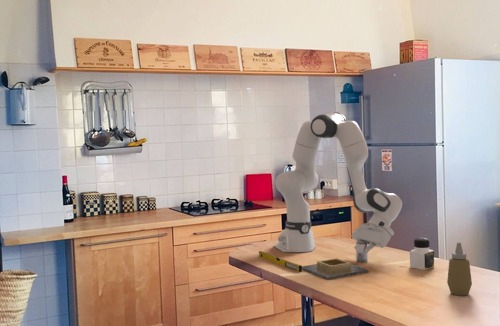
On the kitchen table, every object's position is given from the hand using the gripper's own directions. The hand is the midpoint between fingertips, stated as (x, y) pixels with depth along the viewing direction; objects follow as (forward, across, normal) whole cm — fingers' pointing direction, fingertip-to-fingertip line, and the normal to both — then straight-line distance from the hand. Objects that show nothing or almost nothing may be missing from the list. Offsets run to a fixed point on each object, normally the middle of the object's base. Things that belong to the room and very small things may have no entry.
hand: (360, 250), depth 246 cm
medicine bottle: (-7, +22, +14) cm, 27 cm away
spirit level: (+26, -17, -18) cm, 36 cm away
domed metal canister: (+3, 0, +4) cm, 5 cm away
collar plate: (+16, +6, -10) cm, 20 cm away
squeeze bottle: (+4, +56, +3) cm, 56 cm away
